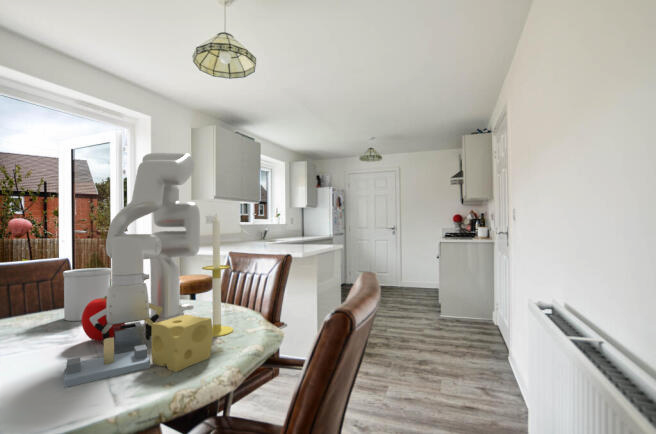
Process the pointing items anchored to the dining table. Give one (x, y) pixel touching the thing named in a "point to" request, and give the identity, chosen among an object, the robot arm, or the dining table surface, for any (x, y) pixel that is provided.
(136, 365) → the stand
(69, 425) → the dining table surface
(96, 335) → the tomato
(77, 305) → the utensil holder
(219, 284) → the yellow disc stand
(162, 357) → the cheese
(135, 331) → the brushed steel block
